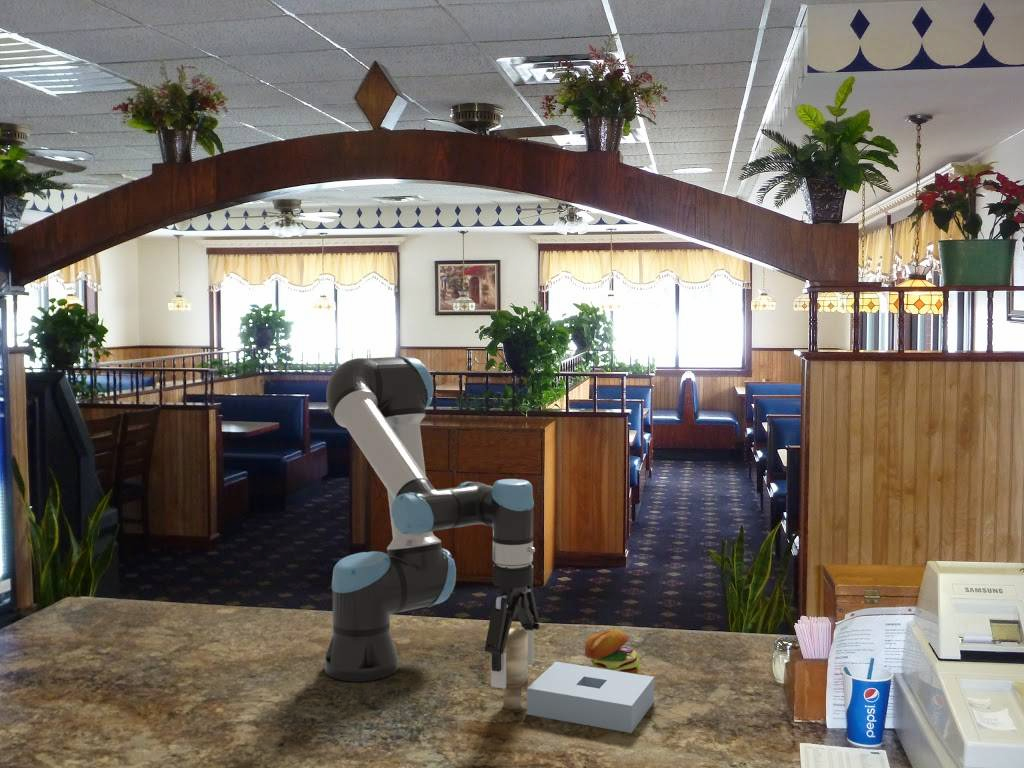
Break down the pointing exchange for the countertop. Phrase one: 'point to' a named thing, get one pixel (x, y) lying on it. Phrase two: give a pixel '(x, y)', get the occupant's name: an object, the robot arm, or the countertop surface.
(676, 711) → the countertop surface
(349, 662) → the robot arm
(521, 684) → the peg
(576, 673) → the board
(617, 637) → the cheeseburger
